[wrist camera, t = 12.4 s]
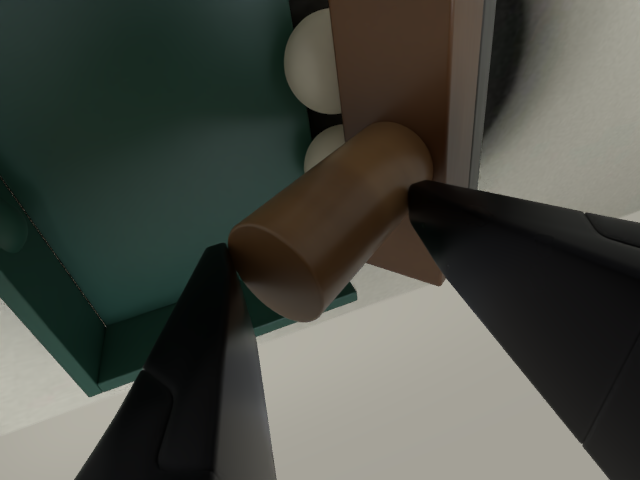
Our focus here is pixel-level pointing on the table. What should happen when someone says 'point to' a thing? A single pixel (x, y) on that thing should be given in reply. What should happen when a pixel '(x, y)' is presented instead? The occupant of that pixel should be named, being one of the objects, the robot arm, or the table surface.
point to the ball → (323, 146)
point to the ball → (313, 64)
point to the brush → (375, 153)
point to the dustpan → (135, 163)
